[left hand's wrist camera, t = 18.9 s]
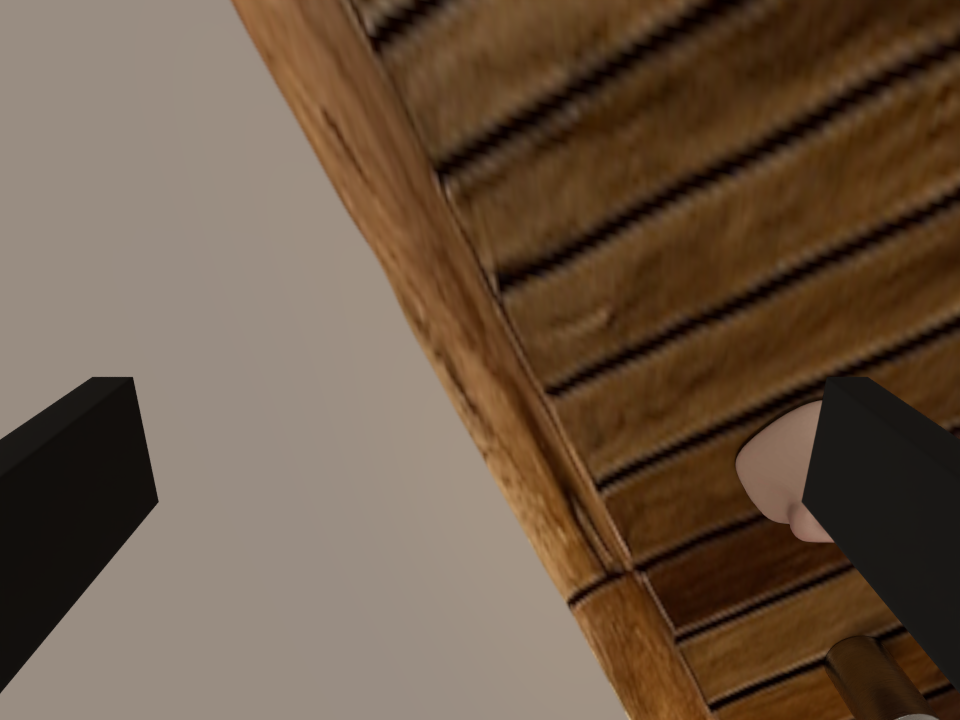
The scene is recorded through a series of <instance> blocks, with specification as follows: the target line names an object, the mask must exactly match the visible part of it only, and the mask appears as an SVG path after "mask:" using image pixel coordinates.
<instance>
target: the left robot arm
mask: <svg viewBox="0 0 960 720" xmlns="http://www.w3.org/2000/svg"><path fill="white" fill-rule="evenodd" d="M158 502H159V501H158V497H157V492H156V487H155V482H154V477H153V472H152V467H151V463H150V458H149V453H148V448H147V443H146V438H145V433H144V429H143V424H142V419H141V414H140V409H139V404H138V400H137V395H136V390H135V385H134V380H133V377H92V378H90V379H89V380H87V381H86V382H84V383H83V384H81V385H80V386H78V387H77V388H75V389H74V390H73V391H71V392H70V393H68V394H67V395H65V396H64V397H62V398H61V399H59V400H58V401H56V402H55V403H53V404H52V405H51V406H49V407H48V408H46V409H45V410H43V411H42V412H40V413H39V414H37V415H36V416H34V417H33V418H31V419H30V420H28V421H27V422H26V423H24V424H23V425H21V426H20V427H18V428H17V429H15V430H14V431H12V432H11V433H9V434H8V435H6V436H5V437H3V438H2V439H1V440H0V693H1V692H2V691H3V689H4V688H5V687H6V686H7V685H8V683H9V682H10V681H11V680H12V679H13V677H14V676H15V675H16V674H17V673H18V671H19V670H20V669H21V668H22V666H23V665H24V664H25V663H26V662H27V660H28V659H29V658H30V657H31V656H32V654H33V653H34V652H35V651H36V650H37V648H38V647H39V646H40V645H41V644H42V642H43V641H44V640H45V639H46V637H47V636H48V635H49V634H50V633H51V631H52V630H53V629H54V628H55V627H56V625H57V624H58V623H59V622H60V621H61V619H62V618H63V617H64V616H65V615H66V613H67V612H68V611H69V610H70V608H71V607H72V606H73V605H74V604H75V602H76V601H77V600H78V599H79V598H80V596H81V595H82V594H83V593H84V592H85V590H86V589H87V588H88V587H89V585H90V584H91V583H92V582H93V581H94V579H95V578H96V577H97V576H98V575H99V573H100V572H101V571H102V570H103V569H104V567H105V566H106V565H107V564H108V563H109V561H110V560H111V559H112V558H113V556H114V555H115V554H116V553H117V552H118V550H119V549H120V548H121V547H122V546H123V544H124V543H125V542H126V541H127V539H128V538H129V537H130V536H131V535H132V533H133V532H134V531H135V530H136V529H137V527H138V526H139V525H140V524H141V523H142V521H143V520H144V519H145V518H146V517H147V515H148V514H149V513H150V512H151V510H152V509H153V508H154V507H155V506H156V505H157V503H158ZM801 502H802V503H803V505H804V506H805V507H806V508H807V509H808V511H809V512H810V513H811V514H812V515H813V517H814V518H815V519H816V520H817V521H818V523H819V524H820V525H821V526H822V527H823V529H824V530H825V531H826V532H827V534H828V535H829V536H830V537H831V538H832V540H833V541H834V542H835V543H836V544H837V546H838V547H839V548H840V549H841V550H842V552H843V553H844V554H845V555H846V556H847V558H848V559H849V560H850V561H851V563H852V564H853V565H854V566H855V567H856V569H857V570H858V571H859V572H860V573H861V575H862V576H863V577H864V578H865V579H866V581H867V582H868V583H869V584H870V585H871V587H872V588H873V589H874V590H875V592H876V593H877V594H878V595H879V596H880V598H881V599H882V600H883V601H884V602H885V604H886V605H887V606H888V607H889V608H890V610H891V611H892V612H893V613H894V615H895V616H896V617H897V618H898V619H899V621H900V622H901V623H902V624H903V625H904V627H905V628H906V629H907V630H908V631H909V633H910V634H911V635H912V636H913V637H914V639H915V640H916V641H917V642H918V644H919V645H920V646H921V647H922V648H923V650H924V651H925V652H926V653H927V654H928V656H929V657H930V658H931V659H932V660H933V662H934V663H935V664H936V665H937V666H938V668H939V669H940V670H941V671H942V673H943V674H944V675H945V676H946V677H947V679H948V680H949V681H950V682H951V683H952V685H953V686H954V687H955V688H956V689H957V691H958V692H959V693H960V439H958V438H957V437H955V436H954V435H952V434H951V433H949V432H948V431H946V430H945V429H943V428H942V427H940V426H939V425H937V424H936V423H935V422H933V421H932V420H930V419H929V418H927V417H926V416H924V415H923V414H921V413H920V412H918V411H917V410H915V409H914V408H912V407H911V406H910V405H908V404H907V403H905V402H904V401H902V400H901V399H899V398H898V397H896V396H895V395H893V394H892V393H890V392H889V391H887V390H886V389H885V388H883V387H882V386H880V385H879V384H877V383H876V382H874V381H873V380H871V379H870V378H868V377H827V380H826V385H825V390H824V395H823V399H822V404H821V409H820V414H819V419H818V424H817V429H816V433H815V438H814V443H813V448H812V453H811V458H810V463H809V467H808V472H807V477H806V482H805V487H804V492H803V497H802V501H801Z"/></svg>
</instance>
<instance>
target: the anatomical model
mask: <svg viewBox="0 0 960 720" xmlns="http://www.w3.org/2000/svg"><path fill="white" fill-rule="evenodd" d="M821 404H822V400H820V401H816V402H812V403H809V404H806V405H803V406H801V407H799V408H797V409H795V410H793V411H790V412H789V413H787V414H785V415H784V416H782V417H780V418H779V419H777V420H776V421H774V422H773V423H772V424H770V425H769V426H767V427H766V428H765V429H763V430H762V431H761V432H760V433H758V434H757V435H756V436H755V437H754V438H753V439H751V440H750V441H749V442H748V443H747V444H746V445H745V446H744V447H743V448H742V450H741V451H740V453H739V454H738V456H737V459H736V470H737V473H738V476H739V479H740V481H741V483H742V484H743V486H744V488H745V490H746V492H747V493H748V495H749V497H750V498H751V500H752V501H753V503H754V504H755V505H756V506H757V507H758V508H759V510H760V511H761V512H762V513H763V514H764V515H765V516H766V517H768V518H769V519H771V520H773V521H776V522H779V523H787V524H790V527H791V530H792V532H793V533H794V535H795V536H796V537H797V538H799V539H800V540H803V541H807V542H834V541H833V540H832V538H831V537H830V536H829V535H828V534H827V532H826V531H825V530H824V529H823V527H822V526H821V525H820V524H819V523H818V521H817V520H816V519H815V518H814V517H813V515H812V514H811V513H810V512H809V511H808V509H807V508H806V507H805V506H804V505H803V503H802V502H801V501H802V497H803V492H804V487H805V482H806V477H807V472H808V467H809V463H810V458H811V453H812V448H813V443H814V438H815V433H816V429H817V424H818V419H819V414H820V409H821Z"/></svg>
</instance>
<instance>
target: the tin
mask: <svg viewBox="0 0 960 720" xmlns="http://www.w3.org/2000/svg"><path fill="white" fill-rule="evenodd" d="M824 665H825V670H826V673H827V674H828V676H829V677H830V679H831V681H832V682H833V684H834V686H835V687H836V689H837V690H838V692H839V694H840V695H841V697H842V698H843V700H844V702H845V703H846V705H847V707H848V708H849V710H850V711H851V713H852V715H853V716H854V718H855V719H856V720H940V718H939V717H938V716H937V714H936V713H935V712H934V710H933V709H932V708H931V706H930V705H929V704H928V703H927V701H926V700H925V699H924V697H923V696H922V695H921V693H920V692H919V691H918V689H917V688H916V687H915V685H914V684H913V683H912V681H911V680H910V679H909V678H908V676H907V675H906V674H905V672H904V671H903V670H902V668H901V667H900V666H899V664H898V663H897V662H896V660H895V659H894V658H893V656H892V655H891V654H890V653H889V651H888V650H887V649H886V647H885V646H884V645H883V644H882V643H881V642H880V641H879V640H877V639H875V638H872V637H868V636H855V637H851V638H847V639H845V640H843V641H841V642H839V643H838V644H836V645H835V646H834V647H833V648H832V649H831V650H830V651H829V652H828V654H827V656H826V658H825V663H824Z"/></svg>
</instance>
